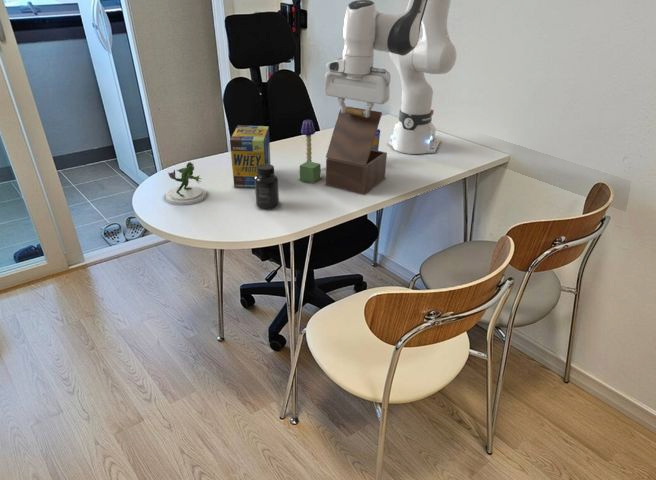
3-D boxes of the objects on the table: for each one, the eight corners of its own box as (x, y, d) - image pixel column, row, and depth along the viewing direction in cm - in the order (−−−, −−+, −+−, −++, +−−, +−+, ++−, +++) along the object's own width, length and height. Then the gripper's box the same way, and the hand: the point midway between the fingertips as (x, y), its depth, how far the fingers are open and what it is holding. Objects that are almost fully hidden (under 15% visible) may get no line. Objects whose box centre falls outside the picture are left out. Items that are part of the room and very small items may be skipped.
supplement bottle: (284, 205, 147) (282, 166, 141) (267, 212, 143) (264, 173, 136) (268, 198, 151) (266, 160, 144) (251, 205, 147) (248, 166, 140)
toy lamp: (313, 172, 169) (313, 123, 160) (300, 171, 170) (299, 122, 160) (316, 167, 173) (316, 119, 164) (303, 166, 174) (303, 118, 164)
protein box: (233, 188, 157) (229, 139, 149) (241, 170, 170) (237, 124, 162) (266, 188, 157) (263, 140, 149) (271, 170, 170) (269, 125, 162)
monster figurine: (213, 197, 151) (209, 164, 146) (178, 208, 145) (172, 175, 139) (193, 185, 159) (188, 154, 153) (158, 195, 152) (152, 163, 146)
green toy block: (307, 175, 167) (307, 160, 164) (320, 178, 165) (320, 163, 162) (299, 179, 164) (299, 165, 161) (312, 183, 162) (312, 168, 159)
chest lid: (342, 106, 154) (335, 100, 150) (382, 113, 149) (376, 106, 144) (326, 157, 155) (319, 153, 151) (365, 166, 150) (360, 161, 145)
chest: (348, 170, 172) (349, 145, 167) (384, 178, 166) (387, 152, 161) (325, 185, 160) (326, 158, 155) (363, 194, 154) (365, 167, 149)
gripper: (395, 68, 139) (390, 118, 147) (332, 60, 147) (331, 107, 155) (386, 71, 134) (381, 122, 142) (321, 63, 143) (320, 112, 150)
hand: (354, 115), depth 149 cm, fingers closed on chest lid, 6 cm apart
